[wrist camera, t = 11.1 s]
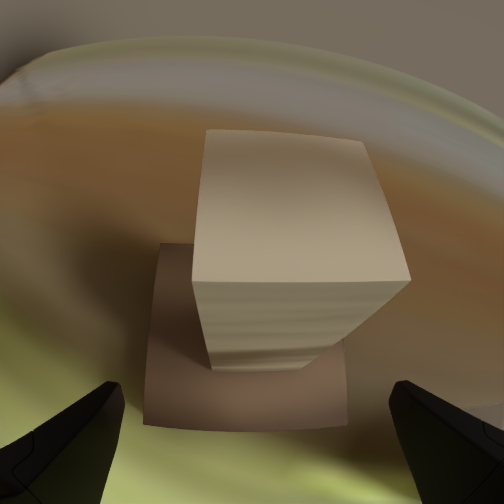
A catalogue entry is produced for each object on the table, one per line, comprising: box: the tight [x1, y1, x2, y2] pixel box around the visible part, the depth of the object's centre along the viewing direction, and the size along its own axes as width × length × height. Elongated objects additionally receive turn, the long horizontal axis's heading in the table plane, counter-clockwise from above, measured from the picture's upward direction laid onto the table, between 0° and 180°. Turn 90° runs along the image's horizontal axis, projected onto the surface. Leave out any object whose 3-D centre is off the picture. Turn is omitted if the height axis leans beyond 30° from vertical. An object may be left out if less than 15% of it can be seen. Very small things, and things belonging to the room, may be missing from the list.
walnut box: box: [143, 243, 348, 432], centre depth 20 cm, size 12×12×4 cm
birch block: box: [192, 130, 411, 372], centre depth 13 cm, size 5×5×12 cm
